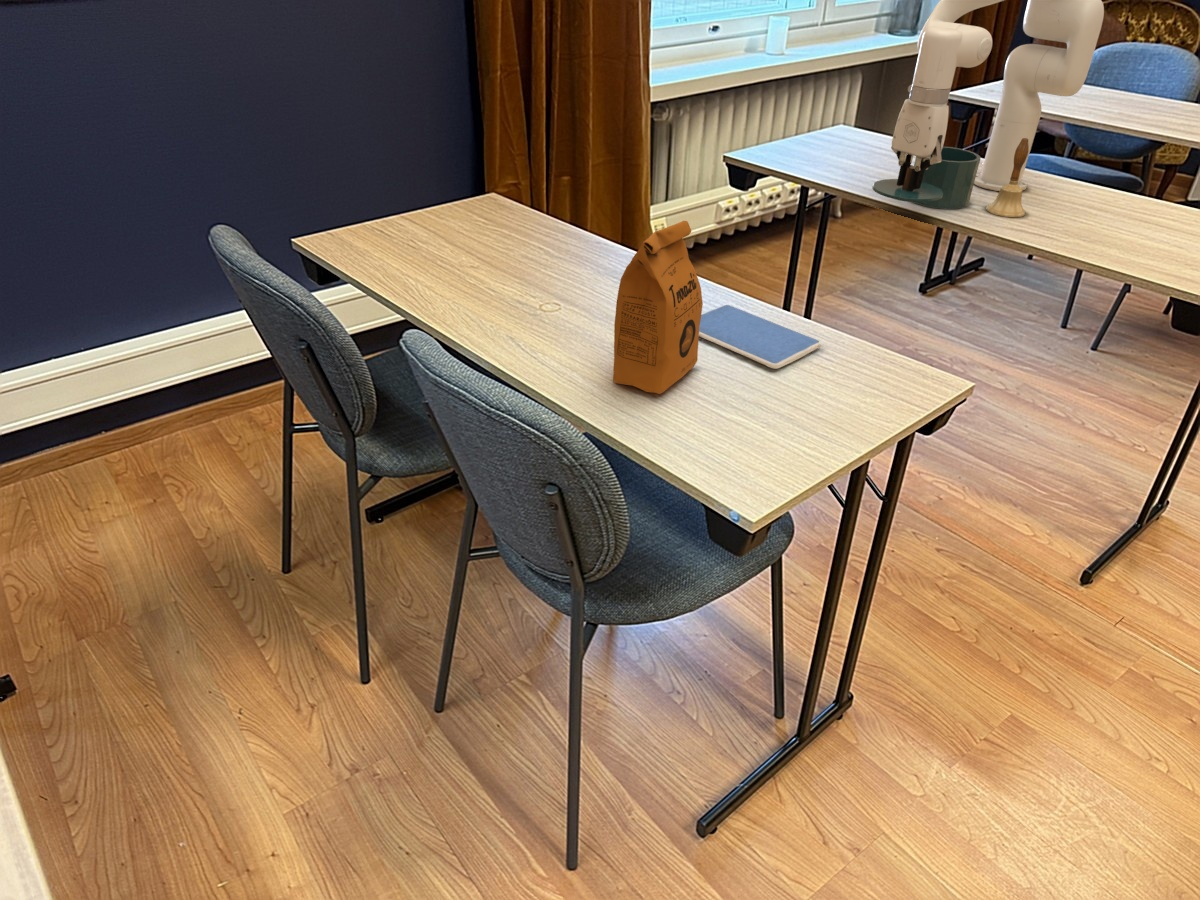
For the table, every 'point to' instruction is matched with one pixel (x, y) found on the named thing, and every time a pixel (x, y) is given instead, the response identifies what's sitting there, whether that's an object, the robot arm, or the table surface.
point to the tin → (952, 178)
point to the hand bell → (1011, 188)
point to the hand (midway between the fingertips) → (908, 186)
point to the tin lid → (903, 193)
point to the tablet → (755, 336)
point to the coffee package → (657, 313)
